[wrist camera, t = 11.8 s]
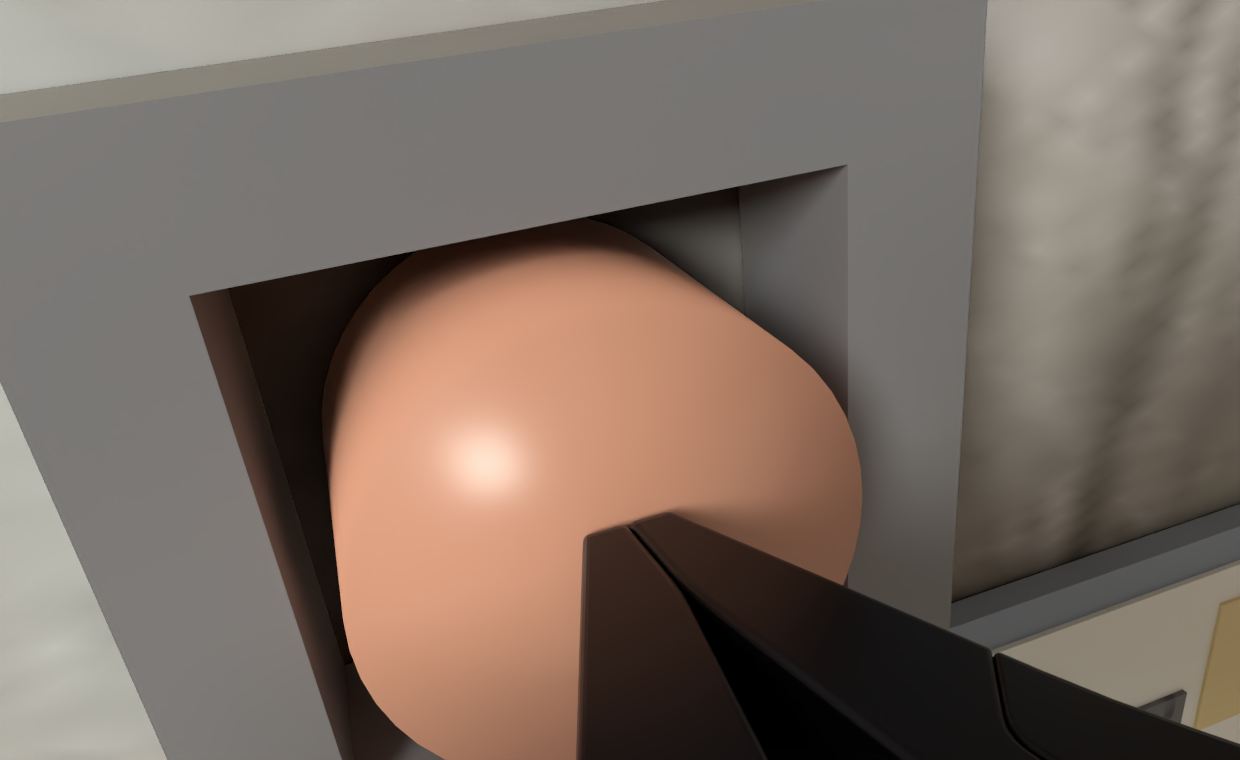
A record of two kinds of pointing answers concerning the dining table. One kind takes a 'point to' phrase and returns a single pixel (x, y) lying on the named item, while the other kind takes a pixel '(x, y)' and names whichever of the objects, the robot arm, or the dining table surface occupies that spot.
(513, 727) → the button
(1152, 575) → the drawing board
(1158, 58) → the dining table surface
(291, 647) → the button housing
